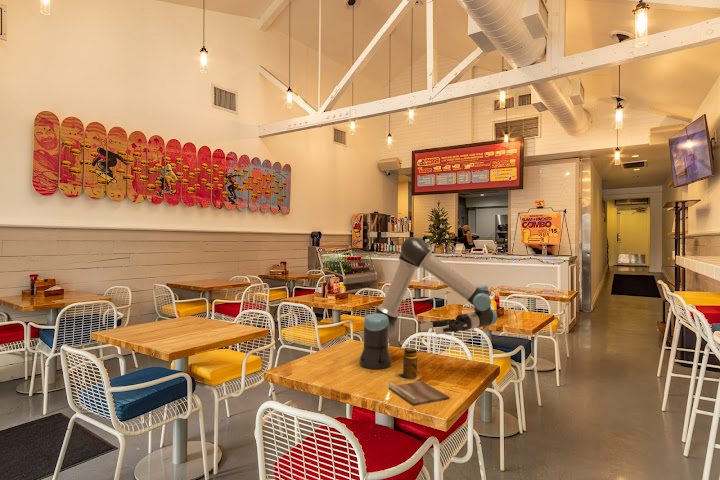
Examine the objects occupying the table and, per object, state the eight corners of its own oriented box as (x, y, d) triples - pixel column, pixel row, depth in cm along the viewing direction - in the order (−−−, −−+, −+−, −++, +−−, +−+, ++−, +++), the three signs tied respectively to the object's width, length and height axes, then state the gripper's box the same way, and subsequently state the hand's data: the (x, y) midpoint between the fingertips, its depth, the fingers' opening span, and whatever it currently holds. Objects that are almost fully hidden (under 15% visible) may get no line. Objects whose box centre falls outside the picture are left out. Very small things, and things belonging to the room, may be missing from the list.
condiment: (420, 379, 171) (420, 351, 171) (401, 380, 169) (401, 352, 169) (414, 373, 178) (414, 346, 178) (396, 374, 176) (396, 347, 176)
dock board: (422, 383, 166) (422, 377, 166) (449, 398, 149) (449, 392, 149) (388, 388, 159) (389, 382, 159) (413, 405, 142) (413, 399, 142)
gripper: (485, 333, 174) (444, 342, 166) (452, 326, 197) (415, 333, 190) (483, 316, 174) (442, 324, 167) (450, 311, 198) (413, 318, 190)
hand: (427, 329), depth 178 cm, fingers open, 13 cm apart
